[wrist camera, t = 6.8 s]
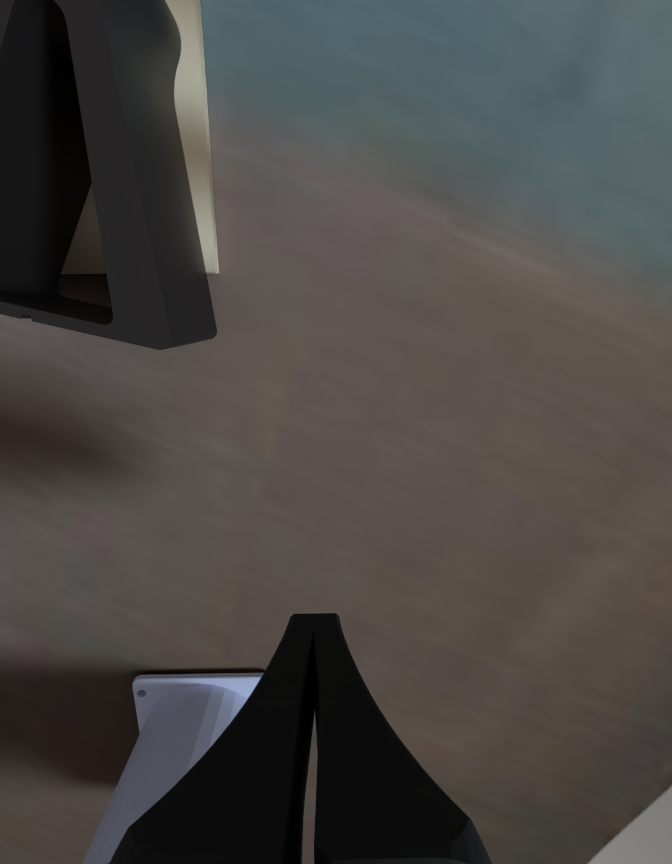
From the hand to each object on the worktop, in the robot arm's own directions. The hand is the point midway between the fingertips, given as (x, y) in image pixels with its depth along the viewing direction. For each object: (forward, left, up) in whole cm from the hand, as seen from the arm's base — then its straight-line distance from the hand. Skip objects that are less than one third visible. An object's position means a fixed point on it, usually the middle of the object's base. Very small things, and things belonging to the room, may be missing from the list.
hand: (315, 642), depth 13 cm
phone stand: (+9, +9, -7) cm, 14 cm away
